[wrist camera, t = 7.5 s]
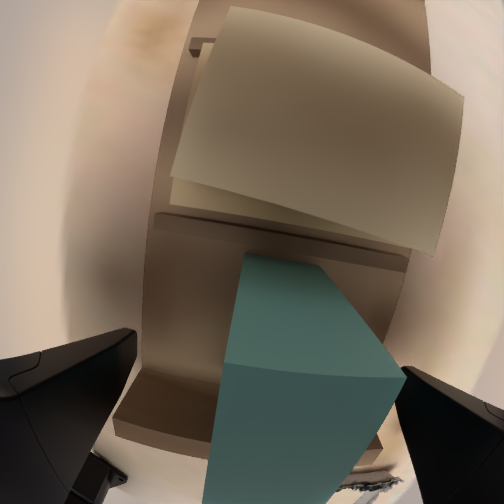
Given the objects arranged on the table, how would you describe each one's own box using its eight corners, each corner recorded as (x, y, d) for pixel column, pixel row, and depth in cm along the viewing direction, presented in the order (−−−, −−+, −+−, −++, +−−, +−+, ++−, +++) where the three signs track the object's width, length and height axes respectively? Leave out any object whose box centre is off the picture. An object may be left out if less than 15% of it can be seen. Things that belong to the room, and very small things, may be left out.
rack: (347, 399, 14) (371, 464, 9) (149, 372, 14) (115, 435, 9) (413, -3, 9) (451, -44, 4) (226, -46, 9) (217, -103, 4)
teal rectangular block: (288, 380, 12) (309, 521, 5) (224, 371, 12) (200, 515, 5) (319, 265, 11) (407, 377, 4) (244, 252, 11) (223, 362, 4)
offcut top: (397, 241, 9) (432, 256, 6) (191, 179, 8) (169, 176, 6) (427, 111, 8) (463, 96, 5) (235, 42, 7) (230, 5, 5)
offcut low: (384, 237, 11) (412, 248, 9) (187, 201, 11) (169, 204, 8) (402, 112, 10) (431, 98, 8) (213, 69, 10) (203, 42, 7)
